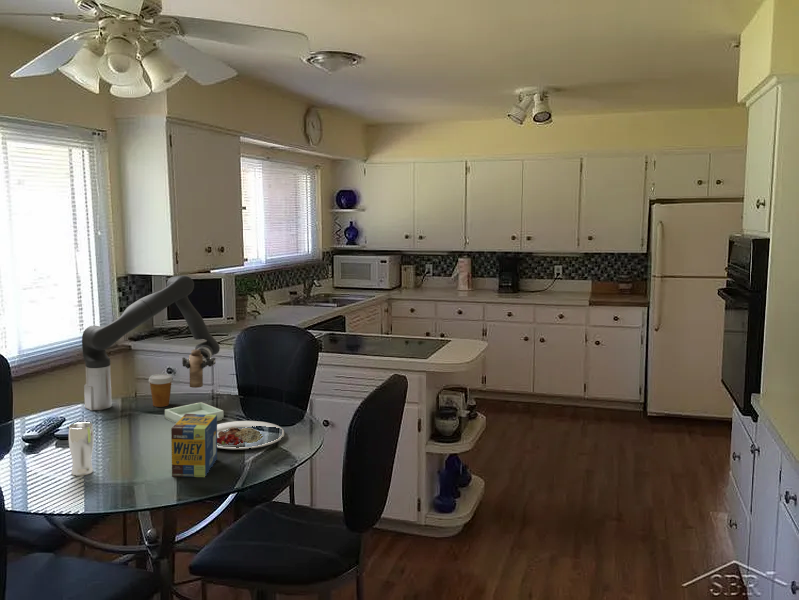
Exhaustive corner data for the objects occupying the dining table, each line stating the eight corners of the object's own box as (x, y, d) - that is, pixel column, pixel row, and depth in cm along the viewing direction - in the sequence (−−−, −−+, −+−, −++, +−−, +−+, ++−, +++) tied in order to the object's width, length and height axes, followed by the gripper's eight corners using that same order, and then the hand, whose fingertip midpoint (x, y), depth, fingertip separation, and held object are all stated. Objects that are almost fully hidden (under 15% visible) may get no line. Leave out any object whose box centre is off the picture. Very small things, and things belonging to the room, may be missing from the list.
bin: (186, 428, 254) (186, 419, 254) (164, 418, 265) (164, 409, 265) (223, 419, 266) (223, 410, 265) (201, 410, 277) (201, 402, 276)
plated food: (293, 428, 259) (293, 419, 258) (271, 456, 229) (271, 446, 229) (217, 423, 262) (217, 415, 261) (185, 450, 232) (184, 441, 232)
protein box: (171, 477, 209) (170, 428, 206) (185, 458, 224) (185, 413, 222) (205, 477, 209) (205, 428, 207) (218, 459, 224) (217, 413, 222)
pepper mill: (193, 388, 277) (193, 352, 275) (187, 385, 281) (186, 350, 279) (205, 386, 281) (205, 350, 279) (198, 383, 285) (198, 348, 282)
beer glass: (88, 466, 215) (86, 420, 213) (99, 472, 211) (97, 425, 209) (65, 472, 210) (63, 425, 208) (76, 478, 205) (74, 430, 203)
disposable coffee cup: (178, 404, 284) (177, 376, 283) (159, 409, 276) (158, 380, 275) (162, 400, 289) (162, 372, 288) (143, 405, 281) (143, 377, 280)
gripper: (184, 348, 292) (176, 357, 276) (218, 348, 294) (213, 357, 277) (184, 365, 293) (176, 375, 277) (218, 365, 295) (213, 375, 279)
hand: (195, 366), depth 277 cm, fingers closed on pepper mill, 5 cm apart
